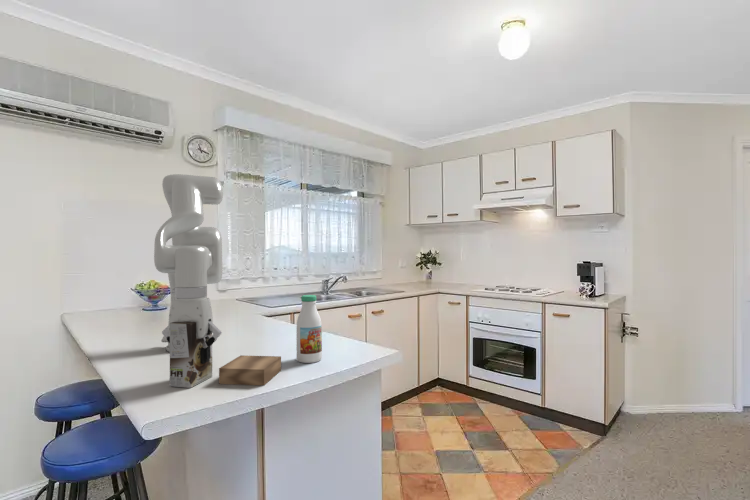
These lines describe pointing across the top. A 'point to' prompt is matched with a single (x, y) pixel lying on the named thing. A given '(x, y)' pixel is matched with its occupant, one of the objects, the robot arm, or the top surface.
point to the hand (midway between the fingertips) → (191, 361)
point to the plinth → (250, 370)
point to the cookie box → (187, 356)
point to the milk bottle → (309, 331)
